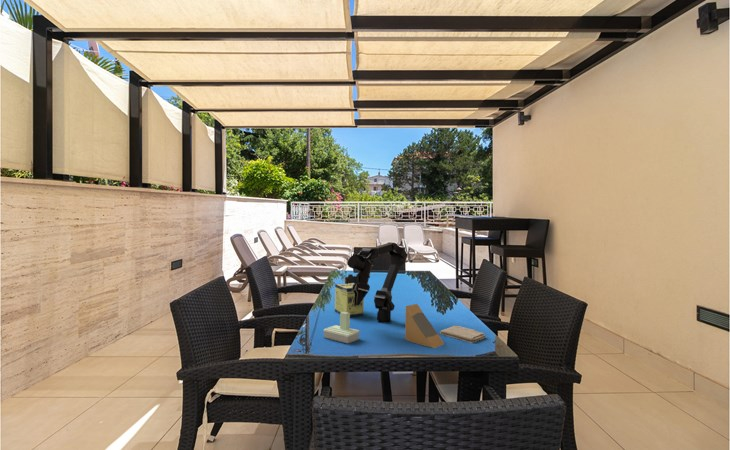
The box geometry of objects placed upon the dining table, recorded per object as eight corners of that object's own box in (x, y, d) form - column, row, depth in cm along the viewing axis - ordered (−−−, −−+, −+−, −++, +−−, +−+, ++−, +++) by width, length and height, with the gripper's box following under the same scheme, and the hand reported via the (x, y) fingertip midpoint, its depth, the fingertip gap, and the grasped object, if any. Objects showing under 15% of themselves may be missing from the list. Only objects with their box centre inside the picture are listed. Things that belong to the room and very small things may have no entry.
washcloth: (473, 344, 165) (473, 337, 165) (438, 335, 178) (438, 328, 178) (487, 339, 173) (487, 332, 173) (452, 330, 186) (452, 323, 186)
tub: (335, 333, 176) (335, 326, 176) (358, 339, 168) (358, 332, 168) (324, 337, 169) (324, 331, 169) (347, 343, 162) (347, 336, 162)
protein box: (346, 318, 203) (347, 288, 203) (334, 311, 217) (334, 283, 217) (364, 315, 209) (364, 287, 208) (350, 309, 222) (351, 282, 222)
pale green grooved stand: (335, 326, 176) (335, 309, 176) (359, 332, 168) (359, 314, 168) (323, 331, 169) (323, 313, 169) (347, 336, 161) (348, 318, 161)
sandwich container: (434, 349, 158) (435, 312, 158) (404, 340, 168) (405, 306, 168) (445, 344, 164) (446, 309, 164) (416, 336, 175) (417, 303, 174)
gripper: (346, 270, 193) (338, 301, 190) (349, 266, 175) (341, 300, 172) (367, 275, 194) (360, 306, 191) (373, 272, 176) (365, 306, 173)
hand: (356, 305), depth 182 cm, fingers open, 9 cm apart
